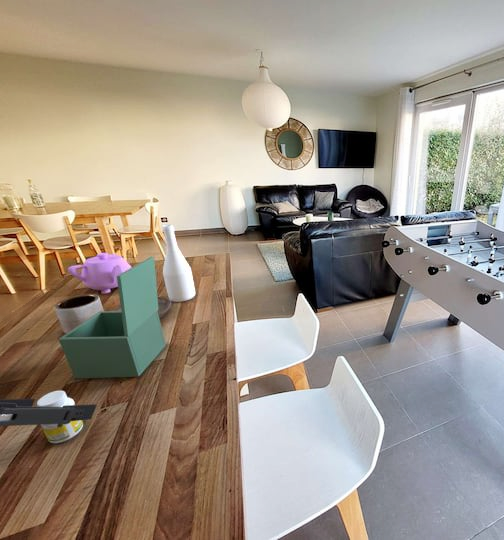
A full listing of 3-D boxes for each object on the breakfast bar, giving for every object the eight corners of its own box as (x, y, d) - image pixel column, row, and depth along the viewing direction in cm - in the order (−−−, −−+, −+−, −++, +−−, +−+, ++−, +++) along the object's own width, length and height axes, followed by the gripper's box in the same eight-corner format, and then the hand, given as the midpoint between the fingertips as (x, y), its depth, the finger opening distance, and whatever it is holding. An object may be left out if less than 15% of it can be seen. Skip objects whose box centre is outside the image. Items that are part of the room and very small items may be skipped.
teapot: (90, 304, 109) (78, 268, 103) (69, 291, 118) (56, 257, 112) (147, 286, 125) (139, 254, 119) (125, 276, 134) (116, 245, 128)
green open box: (74, 378, 74) (58, 339, 70) (111, 346, 87) (99, 311, 82) (138, 376, 76) (126, 338, 71) (166, 345, 89) (157, 310, 84)
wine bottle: (184, 304, 112) (168, 229, 101) (163, 301, 114) (145, 227, 102) (201, 293, 121) (188, 223, 110) (181, 291, 122) (166, 221, 111)
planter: (54, 332, 92) (43, 306, 88) (91, 315, 102) (83, 291, 98) (80, 338, 90) (70, 312, 86) (115, 320, 100) (107, 296, 96)
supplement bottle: (56, 448, 57) (38, 413, 54) (43, 437, 59) (25, 402, 56) (89, 427, 62) (74, 393, 58) (76, 417, 64) (61, 384, 60)
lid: (116, 275, 65) (120, 276, 65) (151, 256, 78) (154, 256, 78) (124, 336, 71) (128, 336, 71) (155, 309, 84) (158, 309, 84)
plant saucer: (144, 332, 94) (142, 324, 93) (98, 325, 97) (95, 317, 96) (183, 306, 111) (182, 299, 109) (143, 301, 113) (141, 294, 112)
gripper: (-194, 439, 39) (-6, 424, 58) (-22, 457, 37) (111, 435, 57) (-150, 380, 42) (14, 384, 61) (10, 394, 40) (126, 394, 60)
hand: (61, 408), depth 59 cm, fingers open, 13 cm apart
